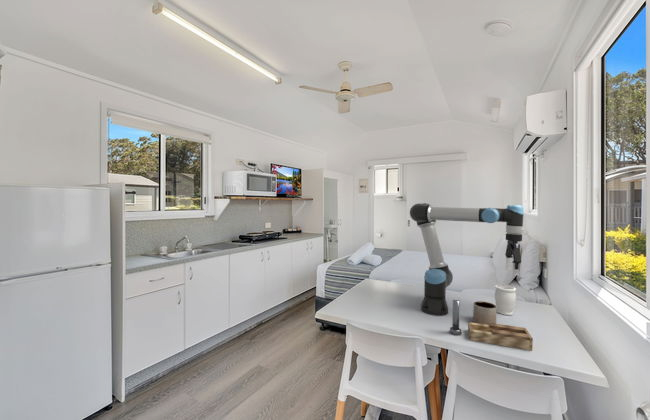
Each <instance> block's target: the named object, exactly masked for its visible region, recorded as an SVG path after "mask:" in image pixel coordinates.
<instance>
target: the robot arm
mask: <svg viewBox="0 0 650 420" xmlns="http://www.w3.org/2000/svg"><path fill="white" fill-rule="evenodd" d="M409 217H410V218H411V219H412V221H414V222H416V226H417V227H419V228H420V230H421V235H422V238H423V239H422V240H423V242H424V246H425V250H426V254H427V258H428V260H429V266H428V269H427V270H425V272H424V285H423V287H424V291H423V292H424V294H423V295H424V296H423V299H422V302H421V304H420V309H421V311H422V312H423V313H425V314H428V315H432V316H446V315H448V314H449V305H448V303H447V299H446V293H447V291H446V289H447V287H449V286H451V284H452V282H453V279H454V275H453V272H452V271H451V270H450V268H449V265H448V263H446V262H445V260H444V257H443V252H442V248H441V244H440V241H439V238H438V234H437V229H436V226H435V225H436V223H437V221H448V222H449V221H450V222H451V221H453V222H468V223H469V222H472V223H473V222H474V223H487V224H493V223H496V222H497V223H506V225H505V241H507V244H506V250H505V254H504V255H505V258H506V259H505V261H506V262H505V270H509V271H510V270H512V276H520V264H522V256H521V244H520V243H521V242H522V241H523V230H524V227H523V226H524V206H523V205H517V204H515V205H512V204H510V205H507V206H506V208H496V207H495V208H494V207H483V208H482V207H481V208H480V207H479V208H478V207H445V206H444V207H443V206H441V207H440V206H439V207H438V206H433V205H431V204H430V203H423V202H422V203H415V204H413V205H412V206H411V207H410V210H409ZM519 242H520V243H519Z"/></svg>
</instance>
